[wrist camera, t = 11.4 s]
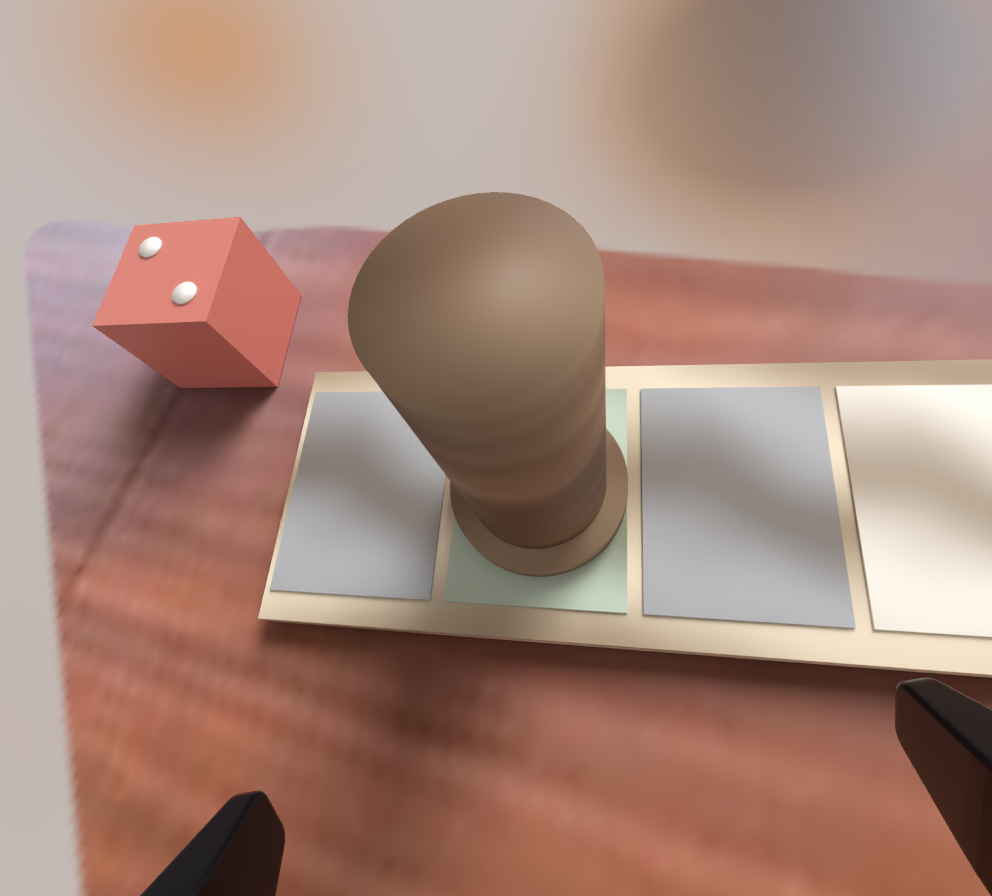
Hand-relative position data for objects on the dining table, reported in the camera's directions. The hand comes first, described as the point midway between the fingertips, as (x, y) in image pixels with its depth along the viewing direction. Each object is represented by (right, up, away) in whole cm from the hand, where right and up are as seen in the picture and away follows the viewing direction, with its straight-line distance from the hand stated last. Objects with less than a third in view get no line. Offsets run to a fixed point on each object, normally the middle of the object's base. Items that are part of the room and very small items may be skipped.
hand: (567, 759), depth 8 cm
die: (-13, +9, +19) cm, 25 cm away
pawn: (+1, +3, +12) cm, 12 cm away
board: (+4, +2, +12) cm, 13 cm away
